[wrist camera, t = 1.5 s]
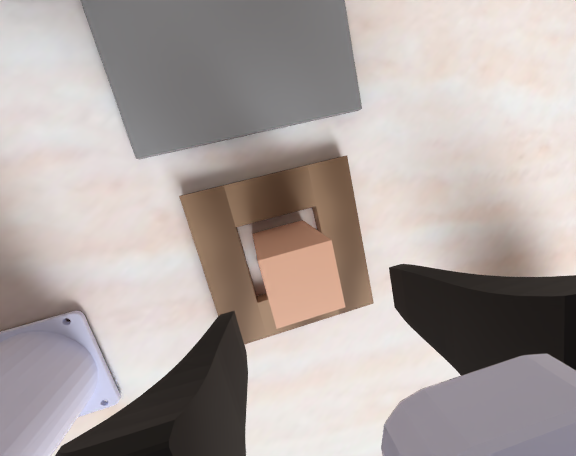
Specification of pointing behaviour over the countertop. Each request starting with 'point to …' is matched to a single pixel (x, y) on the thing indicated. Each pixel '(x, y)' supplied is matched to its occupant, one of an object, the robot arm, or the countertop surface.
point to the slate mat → (222, 67)
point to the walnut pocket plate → (267, 204)
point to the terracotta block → (298, 272)
